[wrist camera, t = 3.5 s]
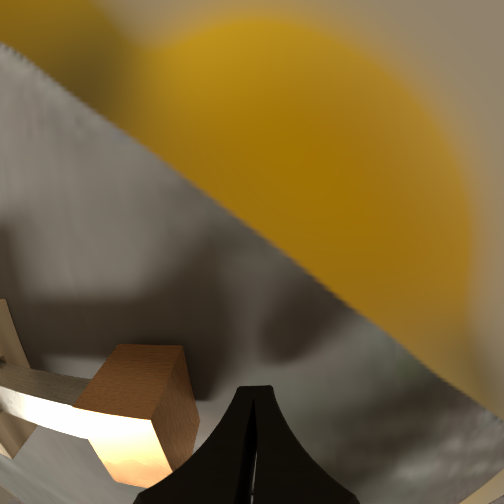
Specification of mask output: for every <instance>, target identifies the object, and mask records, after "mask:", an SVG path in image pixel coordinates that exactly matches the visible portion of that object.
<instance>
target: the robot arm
mask: <svg viewBox="0 0 504 504" xmlns="http://www.w3.org/2000/svg"><path fill="white" fill-rule="evenodd" d="M256 452H257V457H256ZM255 460H256V471H255V483H254V493H253V495H252V482H253V475H254V467H255ZM7 504H24V503H22V502H20V501H19V500H16V499H15V498H13V497H11V498H10V500H9V501H8V503H7ZM133 504H360V503H359V501H358V500H357V498H356V496H355V495H354V494H353V493H351V492H350V491H348V490H347V489H346V488H344V487H343V486H342V485H340V484H339V483H338V482H336V481H335V480H334V479H333V478H332V477H330V476H329V475H328V474H327V473H326V472H325V471H324V470H323V469H322V468H321V467H320V466H319V465H318V464H317V463H316V462H315V461H314V460H313V459H312V458H311V457H310V455H309V454H308V453H307V452H306V451H305V449H304V448H303V447H302V446H301V444H300V443H299V441H298V440H297V439H296V437H295V436H294V434H293V432H292V431H291V429H290V428H289V426H288V424H287V422H286V421H285V419H284V417H283V415H282V413H281V411H280V408H279V406H278V403H277V401H276V398H275V395H274V390H273V387H272V386H271V385H266V386H240V387H238V388H237V390H236V393H235V395H234V398H233V400H232V402H231V404H230V405H229V407H228V409H227V411H226V412H225V414H224V416H223V417H222V419H221V421H220V422H219V424H218V425H217V426H216V428H215V429H214V431H213V432H212V433H211V435H210V436H209V437H208V438H207V440H206V441H205V442H204V443H203V444H202V446H201V447H200V448H199V449H198V450H197V451H196V452H195V453H194V454H193V455H192V456H191V457H190V458H189V459H188V460H187V461H186V462H184V463H183V464H182V465H181V466H180V467H179V468H177V469H176V470H175V471H173V472H172V473H171V474H169V475H168V476H167V477H165V478H164V479H162V480H161V481H159V482H158V483H156V484H154V485H153V486H151V487H149V488H148V489H146V490H144V491H142V492H140V493H139V494H138V495H137V497H136V499H135V501H134V503H133ZM489 504H504V495H503V496H501V497H500V498H498V499H496V500H494V501H492V502H491V503H489Z"/></svg>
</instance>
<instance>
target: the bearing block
mask: <svg viewBox="0 0 504 504" xmlns="http://www.w3.org/2000/svg"><path fill="white" fill-rule="evenodd" d="M0 361H2V362H6V363H10V364H14V365H18V366H22V367H26V368H30V366H29V363H28V361H27V358H26V356H25V354H24V351H23V349H22V346H21V343H20V341H19V338H18V335H17V333H16V330H15V327H14V324H13V321H12V318H11V315H10V312H9V309H8V305H7V302H6V299H0ZM37 426H38V424H36V423H33V422H30V421H27V420H24V419H22V418H19V417H16V416H14V415H11V414H9V413H6V412H4V411H1V410H0V453H1V454H3V455H5V456H7V457H9V458H11V459H13V458H14V457H15V456H16V454H17V453H18V451H19V450H20V449H21V447H22V446H23V445H24V443H25V442H26V440H27V439H28V438H29V436H30V435H31V434H32V432H33V431H34V430H35V428H36V427H37Z"/></svg>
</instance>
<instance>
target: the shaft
mask: <svg viewBox="0 0 504 504" xmlns="http://www.w3.org/2000/svg"><path fill="white" fill-rule="evenodd" d="M0 410H1V411H4V412H6V413H9V414H11V415H14V416H16V417H19V418H22V419H24V420H27V421H30V422H33V423H36V424H39V425H42V426H45V427H48V428H51V429H54V430H58V431H61V432H64V433H68V434H72V435H75V436H79V437H83V438H87V439H89V441H90V443H91V444H92V446H93V448H94V449H95V451H96V453H97V454H98V456H99V457H100V459H101V461H102V462H103V464H104V465H105V467H106V468H107V470H108V471H109V473H110V474H111V476H112V477H113V479H114V480H115V481H116V482H121V483H125V484H130V485H135V486H140V487H145V488H149V487H151V486H153V485H154V484H156V483H158V482H159V481H161V480H162V479H164V478H165V477H167V476H168V475H169V474H171V473H172V472H173V471H175V470H176V469H177V468H179V467H180V466H181V465H182V464H183V463H184V462H186V461H187V460H188V459H189V458H190V457H191V456H192V452H193V448H194V444H195V439H196V435H197V431H198V427H199V423H200V419H199V415H198V411H197V407H196V403H195V399H194V395H193V391H192V386H191V382H190V378H189V373H188V369H187V364H186V360H185V355H184V350H183V345H137V344H118V346H117V347H116V348H115V350H114V351H113V352H112V353H111V355H110V356H109V357H108V359H107V360H106V361H105V363H104V364H103V365H102V367H101V368H100V369H99V371H98V372H97V373H96V375H95V376H94V377H93V379H86V378H80V377H73V376H67V375H61V374H56V373H51V372H45V371H40V370H36V369H31V368H26V367H22V366H18V365H14V364H10V363H6V362H2V361H0Z"/></svg>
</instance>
